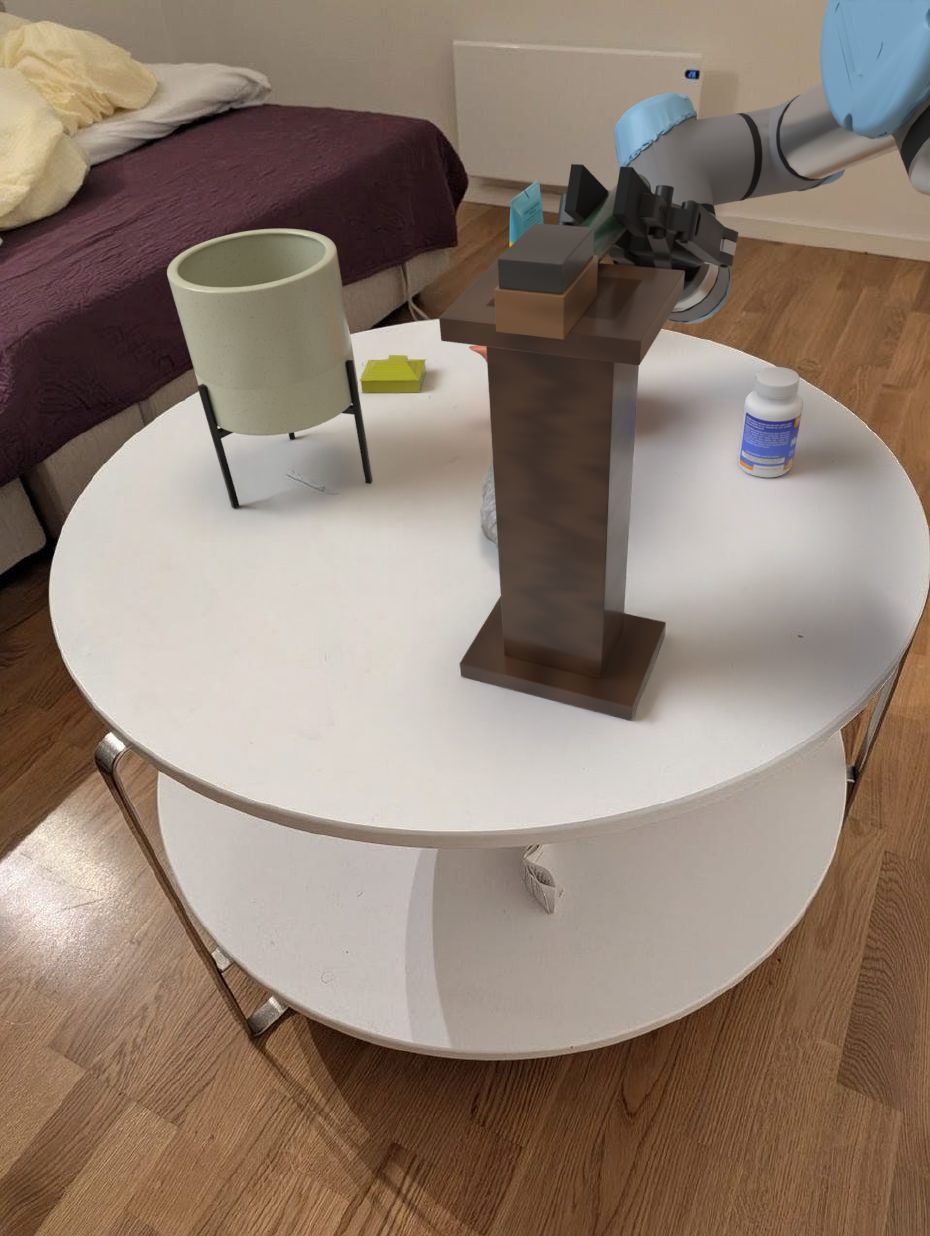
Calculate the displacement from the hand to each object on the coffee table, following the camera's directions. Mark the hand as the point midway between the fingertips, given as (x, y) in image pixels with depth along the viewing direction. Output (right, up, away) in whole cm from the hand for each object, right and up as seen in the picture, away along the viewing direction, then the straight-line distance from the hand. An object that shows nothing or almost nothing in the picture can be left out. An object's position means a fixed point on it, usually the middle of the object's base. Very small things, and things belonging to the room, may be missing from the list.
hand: (598, 189), depth 56 cm
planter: (-25, -11, +42) cm, 50 cm away
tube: (0, +7, +60) cm, 60 cm away
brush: (0, -4, +1) cm, 4 cm away
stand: (0, -29, +18) cm, 35 cm away
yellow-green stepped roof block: (-17, +3, +56) cm, 59 cm away
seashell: (-3, -18, +32) cm, 37 cm away
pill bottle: (+22, -11, +37) cm, 44 cm away
